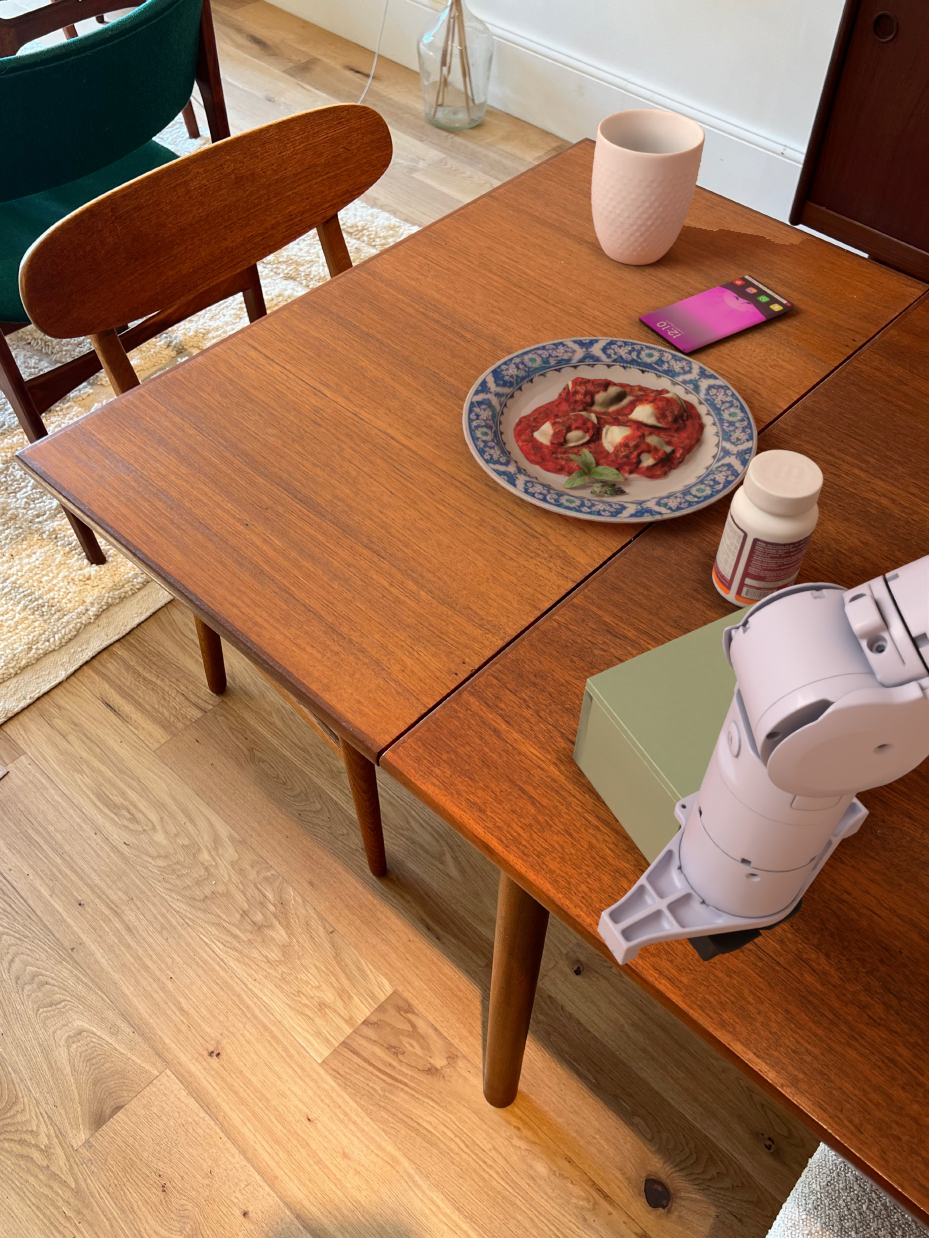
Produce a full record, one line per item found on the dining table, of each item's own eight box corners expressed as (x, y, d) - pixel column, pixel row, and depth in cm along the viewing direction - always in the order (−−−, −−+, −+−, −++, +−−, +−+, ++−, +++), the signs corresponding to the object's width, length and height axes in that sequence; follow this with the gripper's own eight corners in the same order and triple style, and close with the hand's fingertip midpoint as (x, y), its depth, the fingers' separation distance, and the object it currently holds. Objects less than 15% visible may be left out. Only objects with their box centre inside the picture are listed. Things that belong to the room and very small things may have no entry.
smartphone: (793, 313, 103) (796, 305, 102) (682, 357, 97) (684, 349, 97) (745, 281, 107) (747, 273, 106) (636, 321, 101) (637, 313, 101)
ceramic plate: (545, 327, 101) (548, 301, 98) (791, 410, 92) (800, 383, 90) (406, 470, 86) (405, 442, 84) (683, 584, 78) (690, 557, 75)
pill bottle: (805, 584, 78) (849, 474, 69) (759, 625, 75) (799, 515, 66) (740, 544, 81) (775, 432, 72) (694, 582, 78) (724, 470, 69)
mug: (585, 207, 117) (597, 90, 108) (679, 213, 117) (700, 96, 107) (583, 273, 108) (596, 151, 98) (685, 280, 107) (709, 157, 97)
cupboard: (847, 802, 65) (893, 724, 58) (674, 898, 60) (702, 825, 54) (736, 679, 71) (766, 597, 65) (572, 758, 67) (586, 678, 60)
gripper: (825, 685, 48) (759, 825, 58) (574, 811, 44) (550, 939, 54) (935, 797, 44) (843, 926, 54) (671, 948, 39) (624, 1059, 50)
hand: (702, 940), depth 54 cm, fingers closed
